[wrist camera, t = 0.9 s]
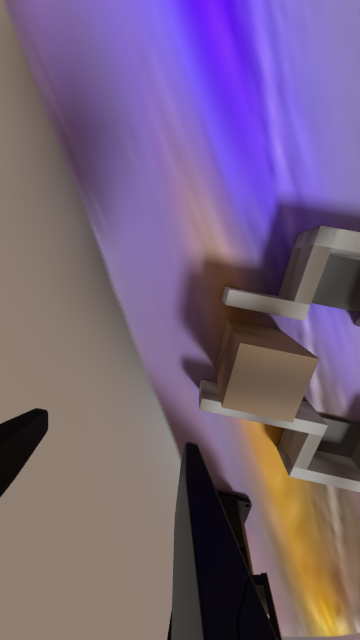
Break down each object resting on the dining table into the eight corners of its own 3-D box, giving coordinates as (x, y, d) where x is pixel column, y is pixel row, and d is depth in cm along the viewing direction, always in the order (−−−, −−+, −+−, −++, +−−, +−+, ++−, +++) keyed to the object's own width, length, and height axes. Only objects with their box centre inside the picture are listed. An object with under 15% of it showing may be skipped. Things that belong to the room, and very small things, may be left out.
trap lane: (189, 428, 22) (187, 458, 18) (239, 222, 16) (250, 210, 12) (420, 479, 21) (463, 520, 17) (563, 280, 15) (670, 284, 11)
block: (264, 376, 19) (292, 422, 13) (214, 366, 19) (221, 407, 14) (280, 329, 18) (319, 358, 12) (226, 319, 18) (240, 342, 12)
